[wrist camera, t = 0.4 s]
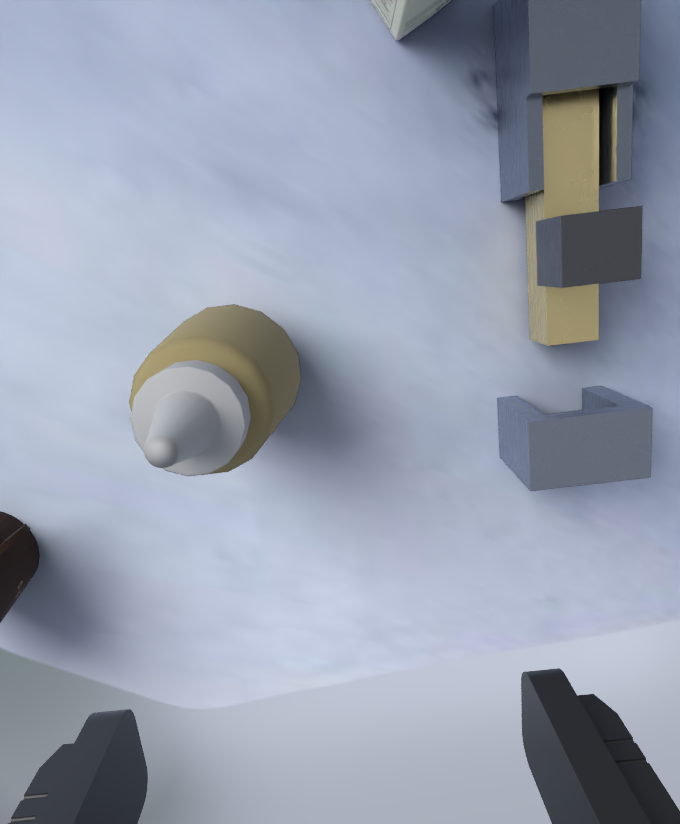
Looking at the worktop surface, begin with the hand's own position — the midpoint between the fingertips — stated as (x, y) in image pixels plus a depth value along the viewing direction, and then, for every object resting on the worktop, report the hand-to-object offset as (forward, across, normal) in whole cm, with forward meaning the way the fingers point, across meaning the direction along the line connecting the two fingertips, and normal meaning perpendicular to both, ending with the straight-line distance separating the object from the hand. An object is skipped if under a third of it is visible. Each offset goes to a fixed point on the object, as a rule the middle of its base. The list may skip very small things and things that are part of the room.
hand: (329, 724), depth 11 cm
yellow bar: (+27, -14, -12) cm, 33 cm away
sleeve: (+27, -14, -17) cm, 35 cm away
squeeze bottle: (+27, +5, -3) cm, 28 cm away
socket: (+26, -15, +3) cm, 30 cm away
